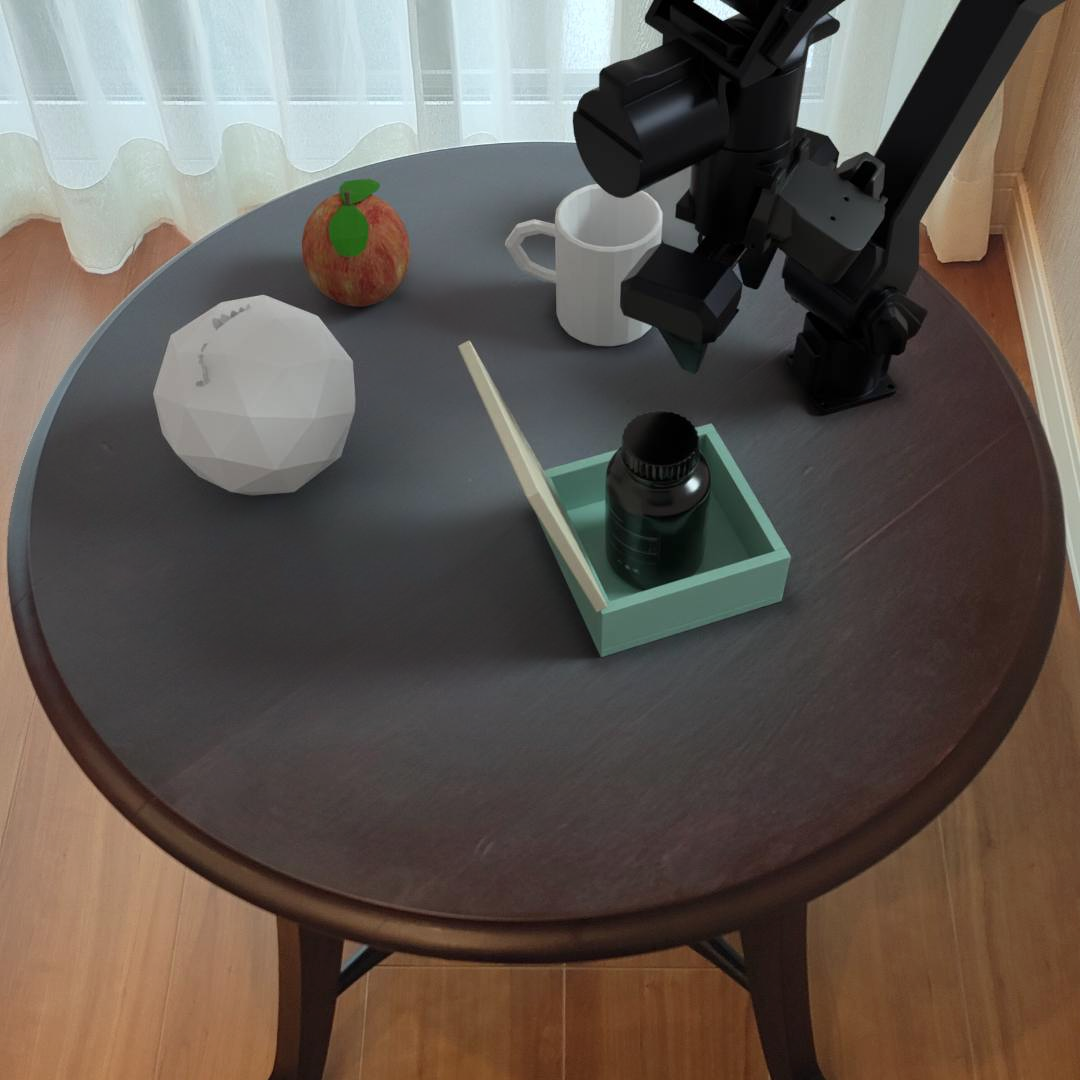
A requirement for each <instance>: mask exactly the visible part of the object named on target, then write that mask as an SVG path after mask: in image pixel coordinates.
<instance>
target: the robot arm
mask: <svg viewBox="0 0 1080 1080" xmlns="http://www.w3.org/2000/svg"><path fill="white" fill-rule="evenodd" d="M719 1H720V2H721V3H723V4H725V5H726V6H727V7H729V8H731V9H732V10H734V11H736V12H737V14H734V15H732V16H730V17H728V18H726V19H721V18H719V17H718V16H716V15H715V14H713V13H712V12H710V11H709V10H707V9H705V8H704V7H702V6H701V5H699V4H698V3H696V2H695V0H652V1H651V4H650V5H649V7H648V9H647V12H646V13H645V15H644V23H645V24H646V25H648V26H649V27H651V28H652V29H654V30H656V32H658V33H660V34H662V39H661V40H662V42H661V45H659V46H657V47H655V48H652V49H651V50H648V51H646V52H644V53H642V54H639V55H637V56H635V57H632V58H629V59H623V60H618V61H616V62H614V63H611V64H609V65H606V66H605V67H602V68H601V70H600V71H599V73H598V86H597V87H595V88H592V89H590V90H589V91H587V92H585V93H583V94H582V96H581V97H580V99H579V100H578V102H577V105H576V109H575V111H572V112H573V113H572V129H573V137H574V141H575V145H576V149H577V151H578V153H579V156H580V159H581V160H582V163H583V165H584V166H585V168H586V171H587V172H588V173H589V175H590V176H591V178H592V180H593V181H594V182H595V184H598V185H599V186H600V187H601V188H602V189H603V190H604V191H605V192H607V193H608V194H610V195H612V196H614V197H617V198H626V197H629V196H632V195H634V194H636V193H638V192H640V191H644V190H645V189H646V190H647V188H648V189H649V187H650V186H652V185H654V184H656V183H658V182H660V181H662V180H664V179H666V178H668V177H670V176H672V175H674V174H676V173H678V172H680V171H682V170H684V169H686V168H688V167H690V166H692V167H691V179H690V188H689V189H688V190H687V192H686V193H685V194H684V195H683V196H682V198H681V199H680V200H679V201H678V202H677V204H676V212H675V218H677V219H680V220H683V221H686V222H689V223H692V224H695V230H696V231H697V232H699V233H700V234H701V235H703V236H704V237H705V238H704V239H703V240H702V241H701V243H700V244H699V245H698V246H697V248H696V249H695V250H694V252H693V253H690V252H688V251H685V250H682V249H679V248H676V247H674V246H671V245H668V244H665V243H664V242H661V243H660V244H658V245H656V246H654V247H652V248H650V249H648V250H647V251H646V252H645V254H644V255H643V256H642V257H641V259H640V260H639V261H638V262H637V263H636V265H635V266H634V267H633V268H632V269H631V271H630V272H629V273H628V274H627V276H626V277H625V278H624V279H623V280H622V282H621V290H620V308H621V310H622V312H623V315H624V316H627V317H630V318H632V319H635V320H638V321H640V322H643V323H645V324H648V325H651V326H652V327H654V328H656V329H657V330H658V332H659V334H660V335H661V336H662V337H661V338H663V340H664V342H665V343H666V345H667V346H668V349H669V350H670V352H671V353H672V355H673V357H674V359H675V360H676V362H677V363H678V365H679V367H680V368H681V369H682V370H683V371H685V372H688V373H690V374H694V375H697V374H698V373H699V371H700V370H701V366H702V364H703V362H704V359H705V356H706V353H707V351H708V350H707V349H708V347H709V344H713V343H715V342H716V341H717V340H718V338H719V337H721V336H722V335H723V334H724V333H725V331H726V330H727V328H728V327H729V325H730V324H731V323H732V322H733V320H734V319H735V318H736V316H737V315H738V314H739V312H740V309H739V308H738V306H739V304H740V302H741V299H742V292H743V286H744V287H746V288H748V289H752V290H757V291H758V289H760V287H761V286H762V283H763V281H764V279H765V277H766V275H767V272H768V270H769V269H770V266H771V264H772V262H773V259H774V257H775V255H776V254H777V250H778V249H779V250H780V252H783V253H784V255H785V259H784V263H783V266H782V270H781V279H783V285H784V291H786V293H787V294H788V295H789V296H790V299H791V300H792V301H793V302H795V303H796V304H799V305H800V306H802V307H803V308H804V309H805V310H807V312H806V313H805V317H804V321H803V327H802V331H799V332H798V333H797V335H796V340H795V343H794V351H792V352H789V353H787V354H786V356H785V363H786V365H787V366H788V368H789V369H790V373H791V375H792V377H793V378H794V380H795V381H796V382H797V384H798V386H799V387H800V388H801V390H802V391H803V393H804V394H806V395H807V396H808V397H809V399H810V401H811V402H812V403H813V405H814V406H815V408H816V409H817V411H818V412H819V413H820V414H823V415H827V414H831V413H835V412H838V411H841V410H845V409H848V408H852V407H856V406H859V405H862V404H866V403H870V402H874V401H876V400H880V399H884V398H888V397H890V396H894V395H895V394H896V393H897V389H898V387H897V384H896V383H895V381H894V380H893V379H892V377H891V376H890V375H889V373H888V371H889V369H890V364H891V361H892V357H893V356H900V355H902V354H903V353H905V350H906V347H907V344H908V341H909V340H911V339H912V338H913V337H916V336H917V334H918V333H919V331H920V330H921V328H922V325H923V323H924V321H925V319H926V317H927V315H928V312H929V310H928V309H926V308H925V307H924V306H922V305H921V304H920V303H918V302H917V301H916V300H914V299H913V298H911V297H910V296H908V295H907V293H908V291H909V289H910V287H911V285H912V283H913V282H914V280H915V278H916V276H917V273H918V271H919V268H920V223H921V221H922V219H923V217H924V215H925V214H926V212H927V210H928V209H929V207H930V205H931V203H932V202H933V200H934V199H935V197H936V195H937V193H938V192H939V190H940V189H941V187H942V185H943V183H944V181H945V180H946V178H947V176H948V175H949V173H950V171H951V170H952V168H953V167H954V165H955V163H956V161H957V159H958V158H959V156H960V154H961V153H962V151H963V149H964V148H965V146H966V144H967V143H968V141H969V139H970V137H971V136H972V134H973V132H974V131H975V129H976V127H977V126H978V124H979V123H980V121H981V119H982V117H983V115H984V114H985V112H986V111H987V109H988V107H989V105H990V103H991V102H992V100H993V99H994V97H995V95H996V93H997V92H998V90H999V88H1000V87H1001V85H1002V84H1003V82H1004V80H1005V78H1006V76H1007V75H1008V74H1009V71H1010V70H1011V68H1012V67H1013V65H1014V63H1015V62H1016V60H1017V58H1018V56H1019V55H1020V53H1021V51H1022V49H1023V48H1024V46H1025V44H1026V43H1027V41H1028V39H1029V37H1030V36H1031V34H1032V33H1033V31H1034V29H1035V28H1036V25H1037V24H1038V23H1039V21H1040V20H1041V18H1042V17H1043V16H1045V15H1046V14H1048V13H1049V12H1050V11H1052V10H1054V9H1055V8H1057V7H1058V6H1060V5H1062V4H1063V3H1065V2H1066V1H1067V0H959V2H958V3H957V5H956V7H955V9H954V10H953V12H952V14H951V16H950V18H949V20H948V21H947V23H946V25H945V27H944V28H943V30H942V32H941V34H940V35H939V38H938V40H936V43H935V45H934V46H933V49H932V50H931V52H930V53H929V56H928V58H927V59H926V61H925V63H924V65H923V67H922V68H921V70H920V72H919V74H918V75H917V78H916V79H915V81H914V83H913V84H912V86H911V88H910V90H909V92H908V93H907V95H906V97H905V98H904V101H903V103H902V104H901V106H900V108H899V109H898V111H897V113H896V115H895V117H894V118H893V120H892V122H891V124H890V126H889V128H888V129H887V131H886V133H885V135H884V137H883V138H882V140H881V142H880V143H879V146H878V147H877V149H876V151H875V152H874V155H873V154H871V153H870V152H868V151H864V152H861V153H858V154H856V155H855V156H853V157H850V158H848V159H846V160H844V161H843V162H841V163H840V165H839V166H838V164H839V163H838V162H839V158H840V151H839V150H838V148H837V146H836V144H835V143H834V142H833V141H832V139H831V138H830V136H829V135H827V134H823V133H820V132H817V131H814V130H810V129H807V128H805V127H801V126H798V121H799V113H800V109H801V101H802V96H803V88H804V81H805V75H806V68H807V63H808V56H809V50H810V47H812V46H813V45H814V44H816V43H818V42H820V41H823V40H825V39H827V38H829V37H831V36H833V35H835V34H837V33H838V32H839V30H840V28H841V22H840V20H839V19H837V18H835V17H834V16H832V15H831V14H830V12H832V11H833V10H834V9H836V8H837V7H838V6H840V5H841V4H843V3H844V2H845V1H846V0H719ZM737 265H738V270H739V274H740V278H739V277H738V275H737V274H736V273H735V271H734V269H735V268H736V266H737Z"/></svg>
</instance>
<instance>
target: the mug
mask: <svg viewBox="0 0 1080 1080" xmlns="http://www.w3.org/2000/svg"><path fill="white" fill-rule="evenodd" d="M554 216H555V217H554V223H552V222H548V221H544V220H539V219H536V218H534V219H530V220H526V221H523V222H519V223H517V224H516V225H515V226H514V228H513V229H512V231H511V232H510V234H509V235H508V237H507V238H506V239H505V241H504V242H505V243H504V246H505V248H506V249H507V251H508V252H509V254H510V255H511V257H512V259H513V260H514V262H515V263H516V266H517V267H518V268H519V269H520V271H521V272H523V273H524V274H527V275H529V276H532V277H533V278H536V279H538V280H540V281H543V282H547V283H553V284H555V302H556V303H555V305H556V307H555V308H556V316H557V319H558V322H559V325H560V326H561V327H562V328H563V330H564V331H565V332H566V333H567V334H568V335H569V336H571V337H572V338H574V339H576V340H578V341H579V342H581V343H584V344H588V345H591V346H595V347H596V346H597V347H616V346H622V345H627V344H630V343H632V342H634V341H636V340H638V339H641V338H642V337H643V336H644V335H645V334H646V333H647V332H649V331H650V330H651V329H652V327H653V326H651V325H648V324H645V323H643V322H640V321H638V320H635V319H632V318H630V317H627V316H624V315H623V312H622V310H621V308H620V290H621V282H622V280H623V279H624V278H625V277H626V276H627V274H628V273H629V272H630V271H631V269H632V268H633V267H634V266H635V265H636V263H637V262H638V261H639V260H640V259H641V257H642V256H643V255H644V254H645V252H646V251H647V250H648V249H650V248H652V247H654V246H656V245H658V244H660V243H662V239H661V235H662V216H663V213H662V211H661V209H660V206H659V204H658V202H656V201H655V200H654V199H653V198H652V197H651V196H650V193H648V192H646V191H644V190H642V191H640V192H638V193H636V194H634V195H632V196H629V197H626V198H617V197H614V196H612V195H610V194H608V193H607V192H605V191H604V190H603V189H602V188H601V187H600V186H599V185H598V184H597V183H594V184H588V185H585V186H582V187H581V188H578V189H576V190H573V191H572V192H571V193H569V194H568V195H566V196H565V197H564V198H563V199H561V201H560V203H559V204H558V206H557V207H556V209H555V215H554ZM540 234H542V235H546V236H550V237H554V243H555V244H554V245H555V248H554V249H555V270H554V269H550V268H546V267H544V266H541V265H540V264H538V263H535V262H533V261H531V259H530V257H529V256H528V255H527V253H526V252H525V250H524V248H523V247H522V245H521V244H522V243H523V241H524V240H525V239H526V237H531V236H535V235H540Z"/></svg>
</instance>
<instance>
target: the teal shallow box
mask: <svg viewBox="0 0 1080 1080" xmlns="http://www.w3.org/2000/svg"><path fill="white" fill-rule="evenodd" d="M695 429H696V430H697V432H698V436H699V451H700V452H701V453H702V454H703V456H704V457H705V459H706V460H707V462H708V464H709V467H710V470H711V477H712V484H711V495H710V504H709V514H708V524H707V533H706V543H705V551H704V557H703V560H702V563H701V565H700V567H699V569H698V570H697V572H696V573H695V574H694V575H693V576H691V577H688V578H685V579H682V580H678V581H675V582H672V583H668V584H665V585H662V586H658V587H655V588H652V589H649V590H646V589H642V588H638V587H635V586H633V585H630V584H629V583H627V582H625V581H624V580H622V579H621V578H620V577H619V576H618V575H617V574H616V573H615V572H614V571H613V569H612V568H611V566H610V564H609V562H608V560H607V556H606V550H605V479H606V470H607V466H608V464H609V461H610V460H611V458H612V456H613V455H614V454H615V453H616V451H617V450H618V449H615V450H610V451H608V452H603V453H599V454H597V455H592V456H590V457H585V458H582V459H579V460H575V461H572V462H568V463H565V464H561V465H558V466H554V467H549V468H547V469H543V471H544V473H545V475H546V477H547V479H548V482H549V484H550V486H551V488H552V490H553V492H554V494H555V496H556V499H557V501H558V503H559V505H560V507H561V509H562V511H563V513H564V516H565V518H566V520H567V522H568V524H569V526H570V528H571V530H572V533H573V535H574V537H575V539H576V541H577V543H578V545H579V547H580V550H581V552H582V554H583V556H584V558H585V560H586V562H587V564H588V566H589V569H590V571H591V573H592V575H593V577H594V579H595V581H596V583H597V586H598V588H599V590H600V592H601V594H602V596H603V598H604V600H605V603H606V605H607V607H606V608H604V609H602V610H600V611H598V612H596V611H595V610H594V608H593V606H592V605H591V603H590V601H589V600H588V598H587V597H586V595H585V593H584V592H583V590H582V588H581V587H580V585H579V583H578V582H577V580H576V578H575V577H574V575H573V574H572V572H571V570H570V569H569V567H568V565H567V564H566V562H565V560H564V559H563V557H562V555H561V554H560V552H559V551H558V549H557V547H556V546H555V544H554V542H553V541H552V539H551V537H550V536H549V534H548V532H547V531H546V529H545V528H544V526H543V524H542V523H541V521H540V519H539V518H538V517H537V520H538V522H539V524H540V527H541V529H542V531H543V533H544V536H545V538H546V540H547V542H548V544H549V546H550V548H551V551H552V553H553V555H554V557H555V560H556V562H557V565H558V566H559V568H560V571H561V573H562V574H563V577H564V579H565V582H566V584H567V586H568V589H569V590H570V592H571V595H572V597H573V599H574V601H575V604H576V606H577V608H578V610H579V612H580V614H581V617H582V619H583V622H584V623H585V626H586V628H587V629H588V632H589V634H590V636H591V639H592V642H593V643H594V645H595V648H596V650H597V652H598V655H599V656H600V658H603V657H607V656H611V655H613V654H617V653H620V652H623V651H626V650H630V649H632V648H635V647H638V646H642V645H645V644H648V643H652V642H655V641H658V640H661V639H664V638H667V637H671V636H675V635H677V634H680V633H683V632H686V631H690V630H694V629H696V628H700V627H703V626H706V625H710V624H712V623H716V622H718V621H719V622H720V621H722V620H725V619H728V618H731V617H736V616H738V615H741V614H744V613H748V612H751V611H755V610H757V609H760V608H763V607H767V606H771V605H773V604H776V603H780V602H782V601H783V596H784V592H785V587H786V584H787V583H786V582H787V578H788V573H789V568H790V563H791V559H792V555H791V554H790V552H789V551H788V549H787V548H786V545H785V544H784V542H783V540H782V539H781V537H780V535H779V534H778V532H777V530H776V529H775V527H774V525H773V523H772V522H771V520H770V519H769V517H768V515H767V514H766V511H765V510H764V508H763V507H762V505H761V503H760V502H759V500H758V498H757V496H756V495H755V493H754V492H753V490H752V488H751V487H750V485H749V483H748V481H747V480H746V478H745V476H744V475H743V472H741V470H740V468H739V466H738V464H737V463H736V462H735V460H734V458H733V455H731V453H730V451H729V449H728V448H727V446H726V444H725V443H724V441H723V439H722V438H721V436H720V434H719V432H718V431H717V430H716V428H715V426H714V425H713V424H712V423H706V424H704V425H700V426H695Z"/></svg>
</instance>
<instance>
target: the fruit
mask: <svg viewBox="0 0 1080 1080" xmlns="http://www.w3.org/2000/svg"><path fill="white" fill-rule="evenodd" d="M380 187H381V183H380V182H378V181H377V180H374V179H371V178H360V179H352V180H346V181H344V182H343V183H342V184H340V185H339V189H338V192H339V193H336V194H334V195H331V196H329V197H327V198H325V199H324V200H323V201H321V202H320V203H319V204H318V205H317V206H316V207H315V209H314V210H313V211H312V213H311V214H310V215H309V217H308V219H307V220H306V222H305V225H304V227H303V232H302V238H301V254H302V262H303V264H304V267H305V270H306V272H307V275H308V277H309V279H310V280H311V281H312V283H313V284H314V286H315V287H316V288H317V289H318V291H320V292H321V293H322V294H323V295H325V296H326V297H328V298H330V299H331V300H333V301H334V302H336V303H338V304H342V305H344V306H350V307H368V306H372V305H376V304H377V303H380V302H381V301H383V300H385V299H388V298H389V297H390V296H391V295H392V294H393V293H394V292H395V291H396V290H397V288H398V287H400V285H402V282H403V281H404V279H405V277H406V274H407V272H408V270H409V264H410V259H411V246H410V238H409V235H408V232H407V229H406V226H405V224H404V222H403V220H402V219H401V217H400V216H399V214H398V213H397V211H396V210H395V209H394V208H393V207H392V206H391V205H390V204H389V203H388V202H387V201H385V200H383V199H382V198H380V197H378V196H377V195H375V194H374V193H376V192H377V191H378V190H379V188H380Z"/></svg>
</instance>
